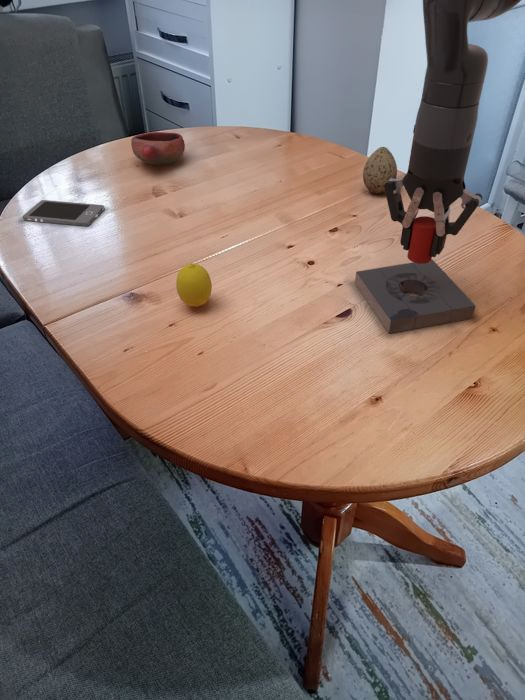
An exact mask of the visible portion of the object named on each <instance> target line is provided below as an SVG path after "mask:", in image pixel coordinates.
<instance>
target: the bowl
mask: <svg viewBox="0 0 525 700" xmlns="http://www.w3.org/2000/svg"><path fill="white" fill-rule="evenodd" d="M130 143H131V144H130V145H131V150H132V153H133V154H134V156H135V157H136V158H137V159H139V160H140V161H142V162H144V163H146V164H148V165H152V166H165V165H170V164H173V163H175V162H176V161H178V160H180V159H181V158H182V156H183V155H184V153H185V150H186V145H185V140H184V138H183V135H181V134H180V133H178V132H163V131H152V132H144V133H140V134H137V135H134V136H133V137H132V138H131V141H130Z"/></svg>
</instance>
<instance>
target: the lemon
mask: <svg viewBox="0 0 525 700" xmlns="http://www.w3.org/2000/svg"><path fill="white" fill-rule="evenodd" d="M175 282H176V286H175V287H176V292H177V295H178V297H179V300H180V301H182V303H184V304H185V305H187V306H190V307H195V308H198V307H200V306H202V305H205V304H206V303H207V302H208V301H209V299H210V298H211V295H212V289H213V284H212V280H211V277H210V274H209V272H208V270H207V269H206V268H205V267H204V266H202V265H200V264H198V263H188V264H185V265H184V266H182V268H180V270H179V271H178V273H177V276H176V281H175Z"/></svg>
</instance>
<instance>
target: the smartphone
mask: <svg viewBox="0 0 525 700" xmlns="http://www.w3.org/2000/svg"><path fill="white" fill-rule="evenodd" d="M103 211H105V205H104V204H95V203H85V202H84V203H83V202H72V201H71V202H70V201H60V200H48V199H42V200H40V201H38V202H37V203H36V204H35V205H34V206H32V208H30V209H29V210H28V211H26V213H24V214H23V215H22V216H21V217H22V220H23V221H29V222H40V223H50V224H58V225H59V224H60V225H70V226H71V225H72V226H82V227H88V226H90V225H91V224H92V223H93V222H94V221H95V220H96V219H97V218H98V216H100V215H101V214H102V213H103Z"/></svg>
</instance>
